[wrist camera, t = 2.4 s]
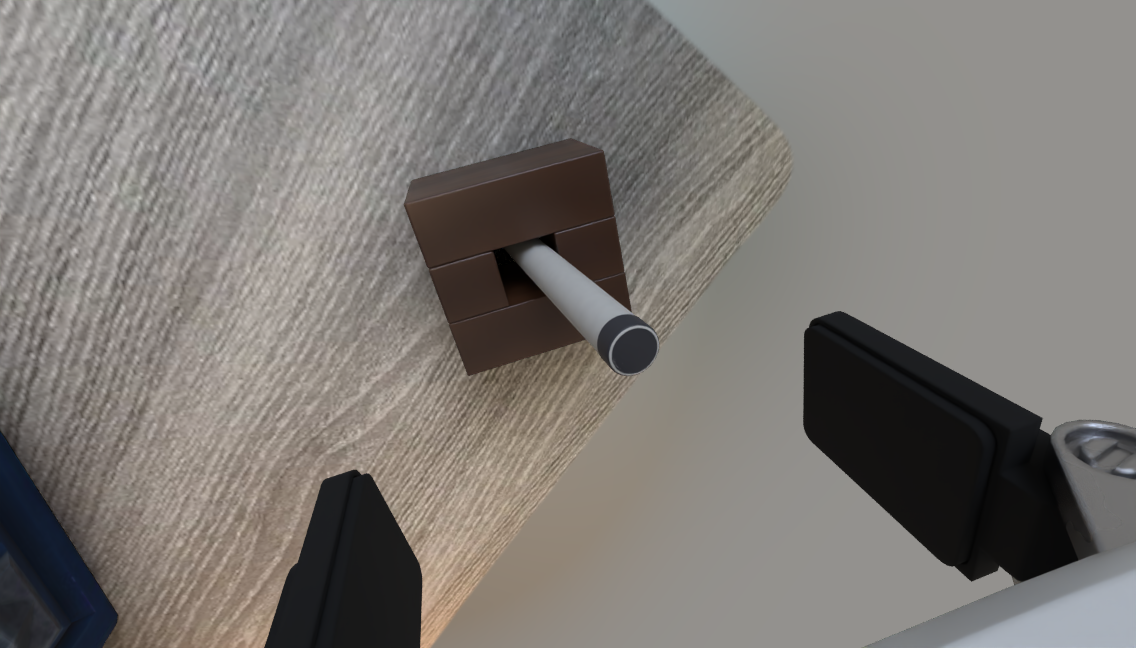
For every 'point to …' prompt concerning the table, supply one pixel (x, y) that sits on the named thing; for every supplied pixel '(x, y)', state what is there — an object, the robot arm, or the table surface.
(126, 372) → the table surface
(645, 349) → the stylus
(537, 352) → the pen stand
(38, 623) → the book
